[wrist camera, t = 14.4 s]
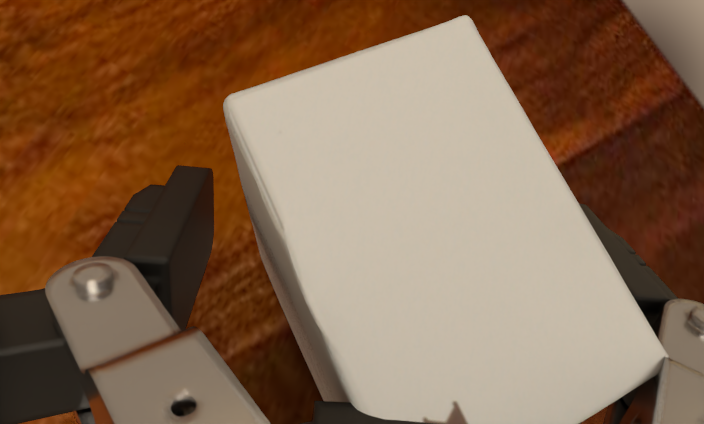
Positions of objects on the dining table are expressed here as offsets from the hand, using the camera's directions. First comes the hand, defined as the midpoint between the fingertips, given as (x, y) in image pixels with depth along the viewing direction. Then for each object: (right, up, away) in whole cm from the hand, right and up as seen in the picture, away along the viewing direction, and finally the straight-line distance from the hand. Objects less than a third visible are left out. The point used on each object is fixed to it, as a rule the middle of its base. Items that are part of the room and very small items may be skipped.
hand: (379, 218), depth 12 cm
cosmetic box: (-1, -3, +6) cm, 7 cm away
